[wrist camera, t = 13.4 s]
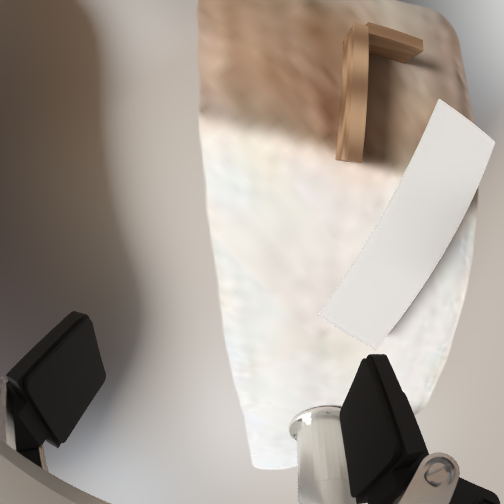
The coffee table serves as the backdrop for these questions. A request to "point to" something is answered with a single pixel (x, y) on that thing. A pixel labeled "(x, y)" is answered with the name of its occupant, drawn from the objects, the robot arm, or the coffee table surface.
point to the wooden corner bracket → (365, 79)
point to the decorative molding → (412, 228)
